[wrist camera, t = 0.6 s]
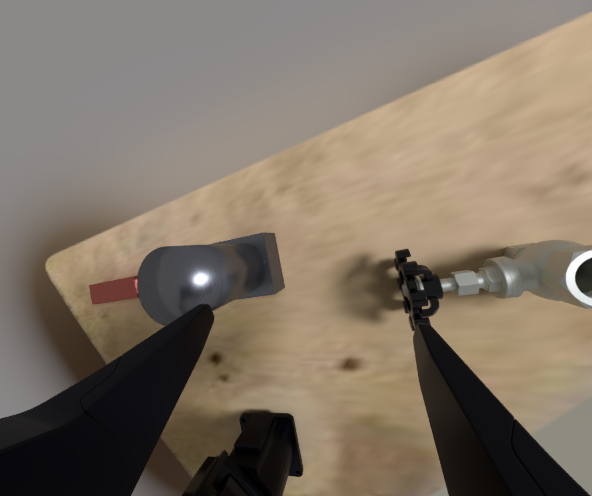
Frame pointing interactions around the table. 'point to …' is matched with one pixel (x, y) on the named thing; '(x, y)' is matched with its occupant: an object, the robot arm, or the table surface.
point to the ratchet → (114, 290)
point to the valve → (503, 277)
